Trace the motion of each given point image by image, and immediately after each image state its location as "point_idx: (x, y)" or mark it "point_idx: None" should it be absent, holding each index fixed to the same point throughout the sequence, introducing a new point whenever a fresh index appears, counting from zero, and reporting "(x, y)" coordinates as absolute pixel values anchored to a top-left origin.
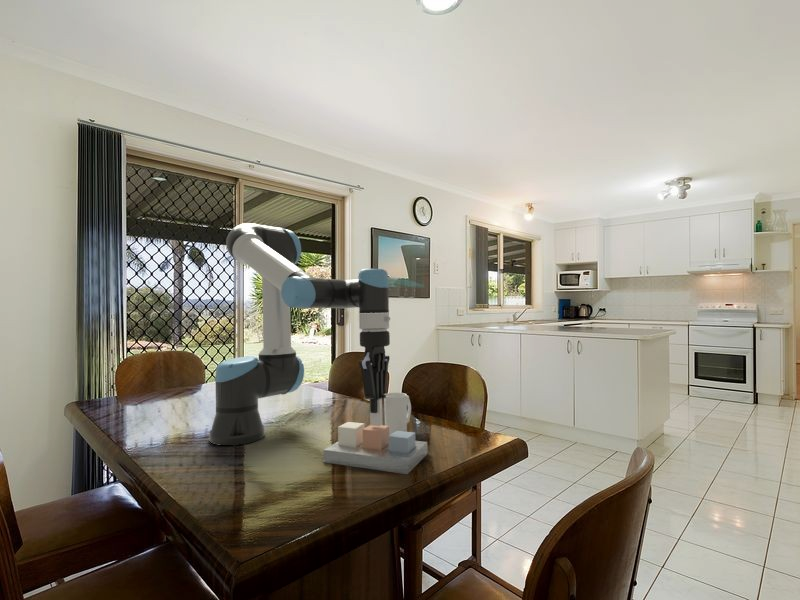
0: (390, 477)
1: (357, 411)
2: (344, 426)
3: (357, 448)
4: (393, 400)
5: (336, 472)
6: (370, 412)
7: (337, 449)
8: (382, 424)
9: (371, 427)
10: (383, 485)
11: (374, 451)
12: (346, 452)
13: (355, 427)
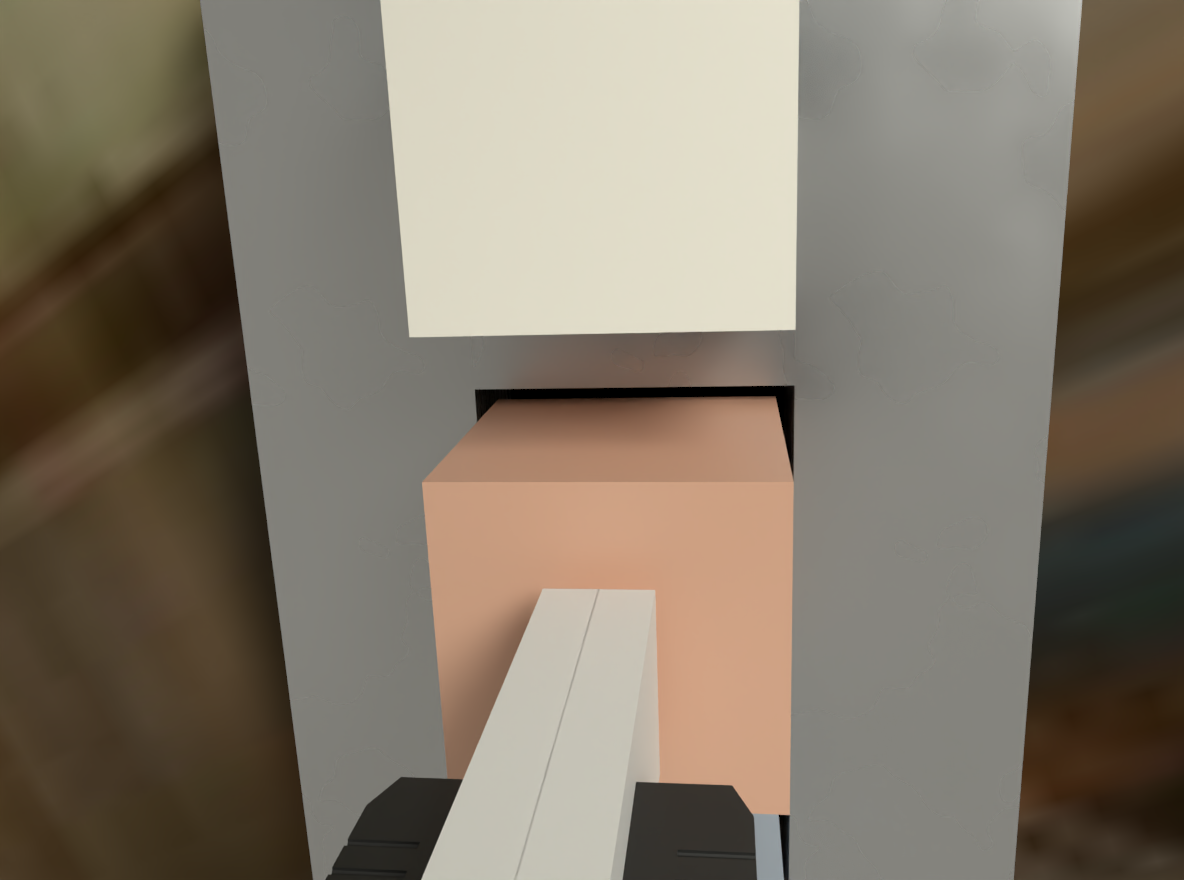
0: (252, 806)
1: None
2: (448, 44)
3: (437, 352)
4: None
5: (105, 278)
6: (490, 724)
7: (289, 101)
8: (659, 774)
9: (583, 577)
10: (89, 809)
11: (428, 607)
12: (247, 292)
13: (473, 300)
